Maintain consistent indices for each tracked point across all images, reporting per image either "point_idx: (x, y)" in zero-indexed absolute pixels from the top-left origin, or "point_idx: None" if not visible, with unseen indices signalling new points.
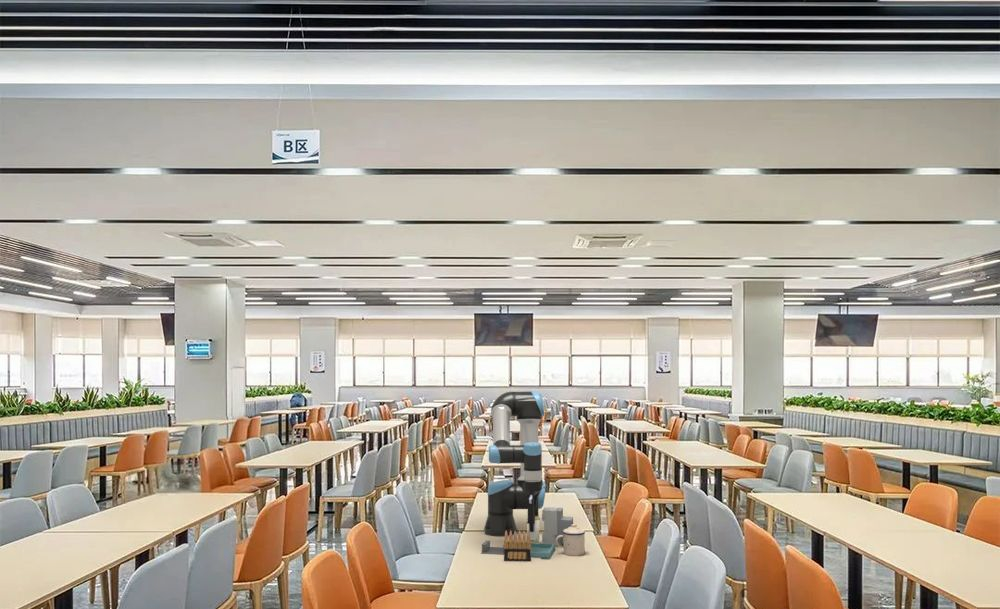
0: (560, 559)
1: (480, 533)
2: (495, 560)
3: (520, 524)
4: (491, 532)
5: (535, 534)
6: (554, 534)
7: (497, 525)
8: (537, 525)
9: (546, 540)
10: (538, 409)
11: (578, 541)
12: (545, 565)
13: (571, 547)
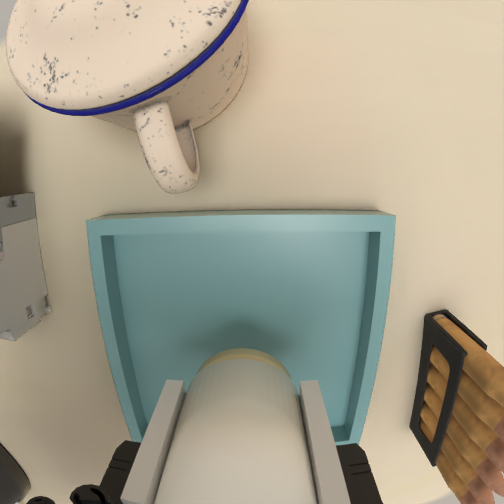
0: (365, 133)
1: (29, 498)
2: (401, 453)
3: None
4: (25, 489)
5: (311, 412)
6: None
7: (4, 491)
8: (286, 473)
9: (26, 297)
10: None
11: None
12: (492, 217)
13: (246, 45)
